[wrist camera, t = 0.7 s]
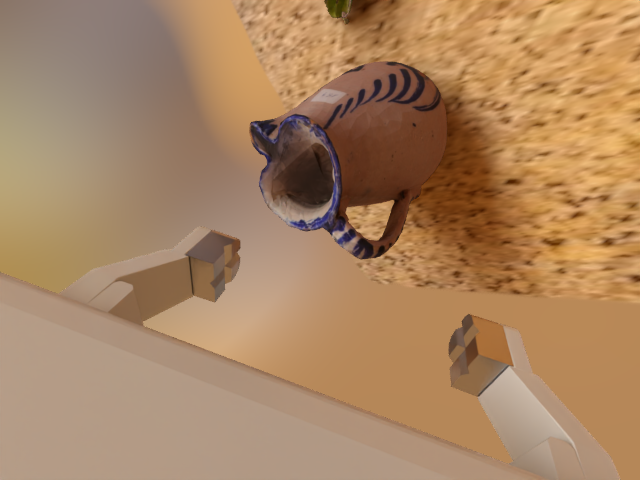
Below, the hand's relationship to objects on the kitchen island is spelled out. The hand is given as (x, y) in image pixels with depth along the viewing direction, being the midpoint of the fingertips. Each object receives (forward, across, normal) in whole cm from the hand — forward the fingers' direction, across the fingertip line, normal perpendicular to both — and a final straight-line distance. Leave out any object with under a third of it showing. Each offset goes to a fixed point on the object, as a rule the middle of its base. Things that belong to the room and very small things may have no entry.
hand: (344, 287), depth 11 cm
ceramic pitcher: (+42, -3, +5) cm, 42 cm away
